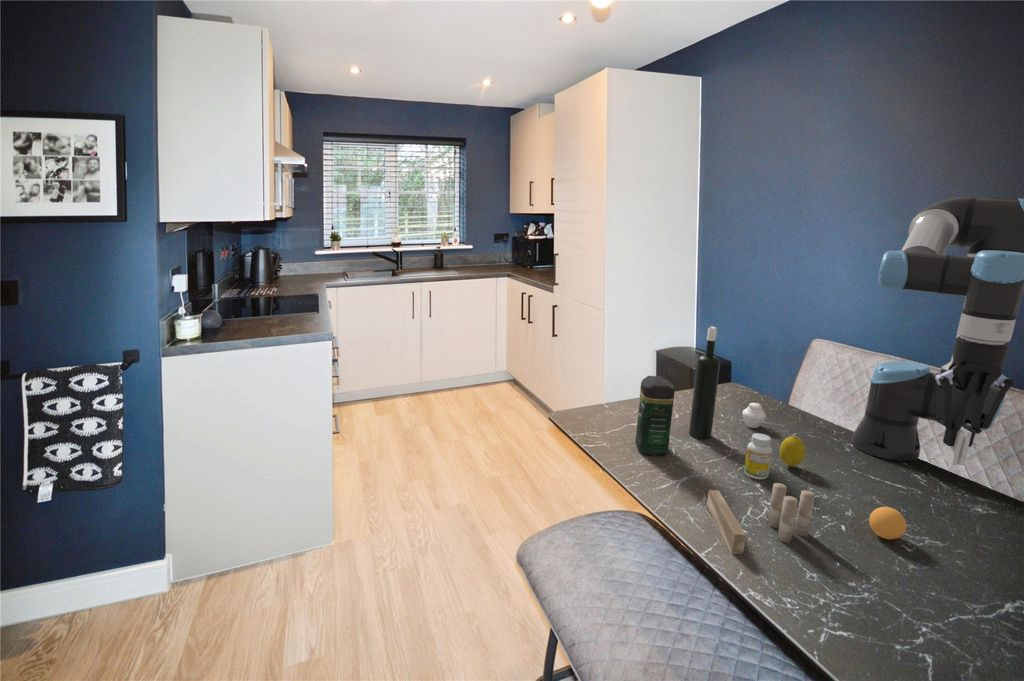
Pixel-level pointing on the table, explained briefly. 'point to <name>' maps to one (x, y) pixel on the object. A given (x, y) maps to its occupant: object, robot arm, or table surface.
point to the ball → (887, 523)
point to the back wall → (726, 522)
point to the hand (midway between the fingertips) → (953, 461)
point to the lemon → (792, 451)
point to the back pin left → (787, 519)
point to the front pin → (804, 513)
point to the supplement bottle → (758, 457)
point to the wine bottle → (705, 390)
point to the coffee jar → (654, 415)
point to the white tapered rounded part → (753, 415)
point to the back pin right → (776, 505)
